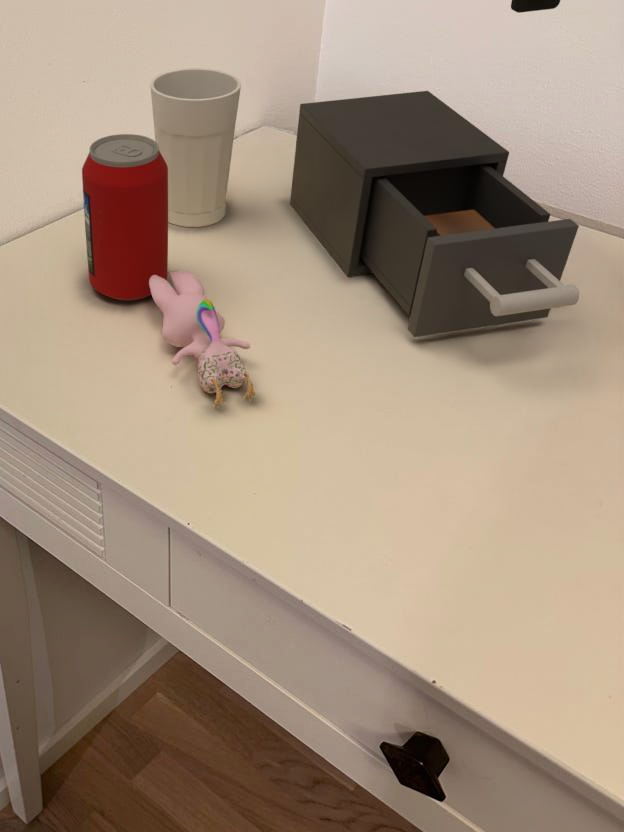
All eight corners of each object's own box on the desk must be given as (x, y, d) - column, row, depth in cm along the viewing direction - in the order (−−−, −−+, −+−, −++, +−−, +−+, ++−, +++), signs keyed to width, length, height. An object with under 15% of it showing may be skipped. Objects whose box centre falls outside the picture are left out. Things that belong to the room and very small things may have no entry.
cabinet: (481, 258, 78) (509, 152, 72) (347, 276, 77) (365, 168, 70) (408, 188, 89) (427, 90, 82) (289, 203, 87) (299, 103, 80)
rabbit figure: (271, 409, 65) (196, 283, 74) (284, 349, 61) (203, 222, 69) (192, 428, 64) (125, 297, 72) (199, 368, 59) (127, 236, 68)
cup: (147, 196, 89) (145, 70, 80) (225, 191, 89) (232, 66, 81) (156, 233, 83) (155, 102, 75) (240, 228, 83) (249, 97, 75)
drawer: (588, 356, 66) (626, 262, 61) (447, 378, 64) (473, 283, 59) (464, 238, 79) (486, 152, 74) (345, 254, 78) (358, 167, 72)
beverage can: (120, 258, 79) (115, 124, 71) (183, 280, 77) (185, 142, 68) (73, 291, 75) (62, 152, 67) (137, 315, 73) (134, 173, 64)
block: (461, 260, 74) (474, 209, 71) (488, 288, 71) (503, 235, 68) (410, 267, 74) (421, 215, 70) (435, 295, 70) (448, 242, 67)
